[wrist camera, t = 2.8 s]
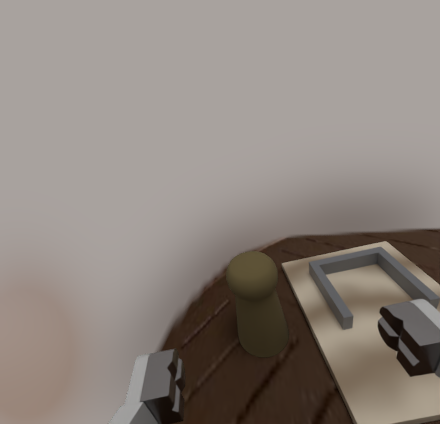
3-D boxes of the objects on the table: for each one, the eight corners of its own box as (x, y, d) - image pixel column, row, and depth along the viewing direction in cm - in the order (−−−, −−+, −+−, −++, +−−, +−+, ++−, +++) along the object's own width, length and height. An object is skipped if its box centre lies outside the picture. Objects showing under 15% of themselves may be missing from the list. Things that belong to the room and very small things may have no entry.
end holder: (436, 310, 25) (440, 297, 24) (343, 329, 25) (343, 317, 25) (379, 257, 33) (380, 246, 32) (309, 272, 33) (308, 261, 33)
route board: (562, 396, 18) (568, 389, 18) (359, 435, 19) (360, 429, 18) (385, 246, 36) (385, 241, 36) (282, 268, 37) (281, 263, 36)
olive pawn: (232, 352, 27) (211, 283, 22) (243, 308, 32) (227, 242, 27) (287, 362, 25) (278, 287, 20) (289, 313, 30) (282, 243, 25)
